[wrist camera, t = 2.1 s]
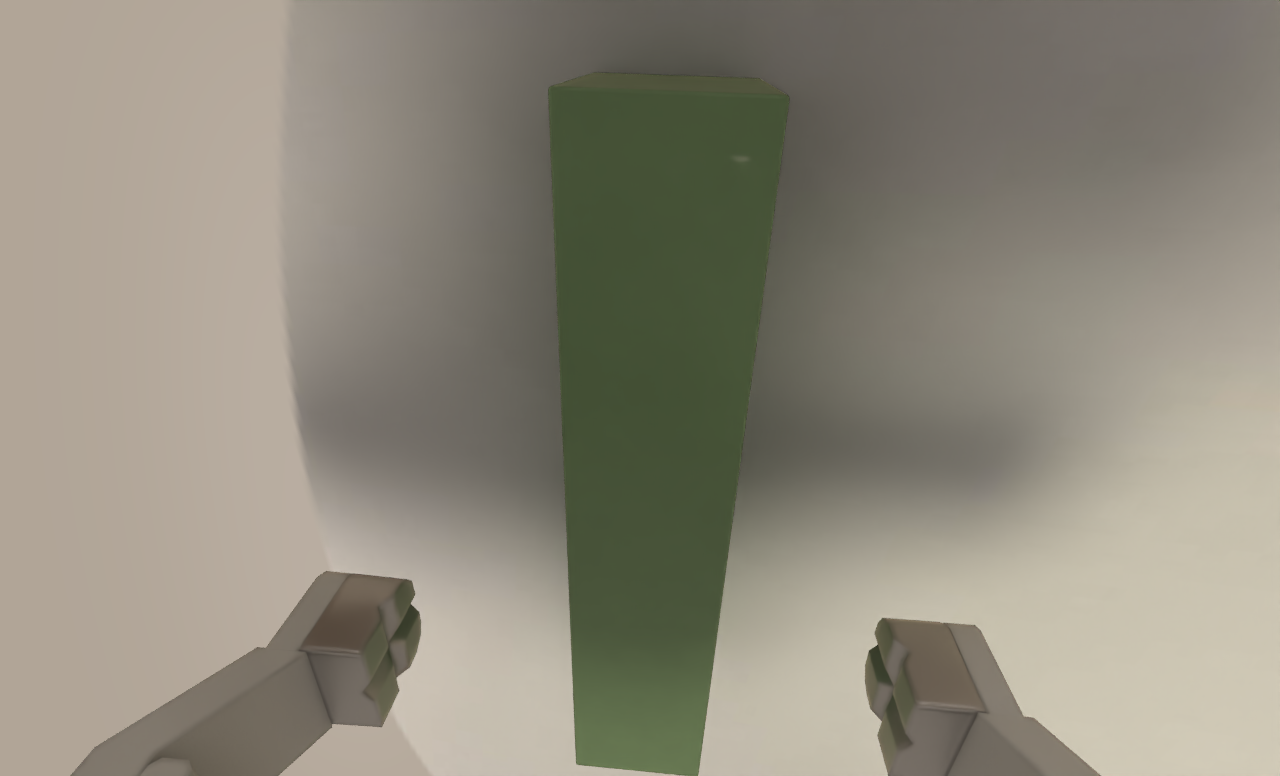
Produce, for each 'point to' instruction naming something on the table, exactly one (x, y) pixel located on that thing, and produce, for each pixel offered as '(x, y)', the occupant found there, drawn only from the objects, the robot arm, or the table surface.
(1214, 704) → the table surface
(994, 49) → the table surface
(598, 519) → the bar
